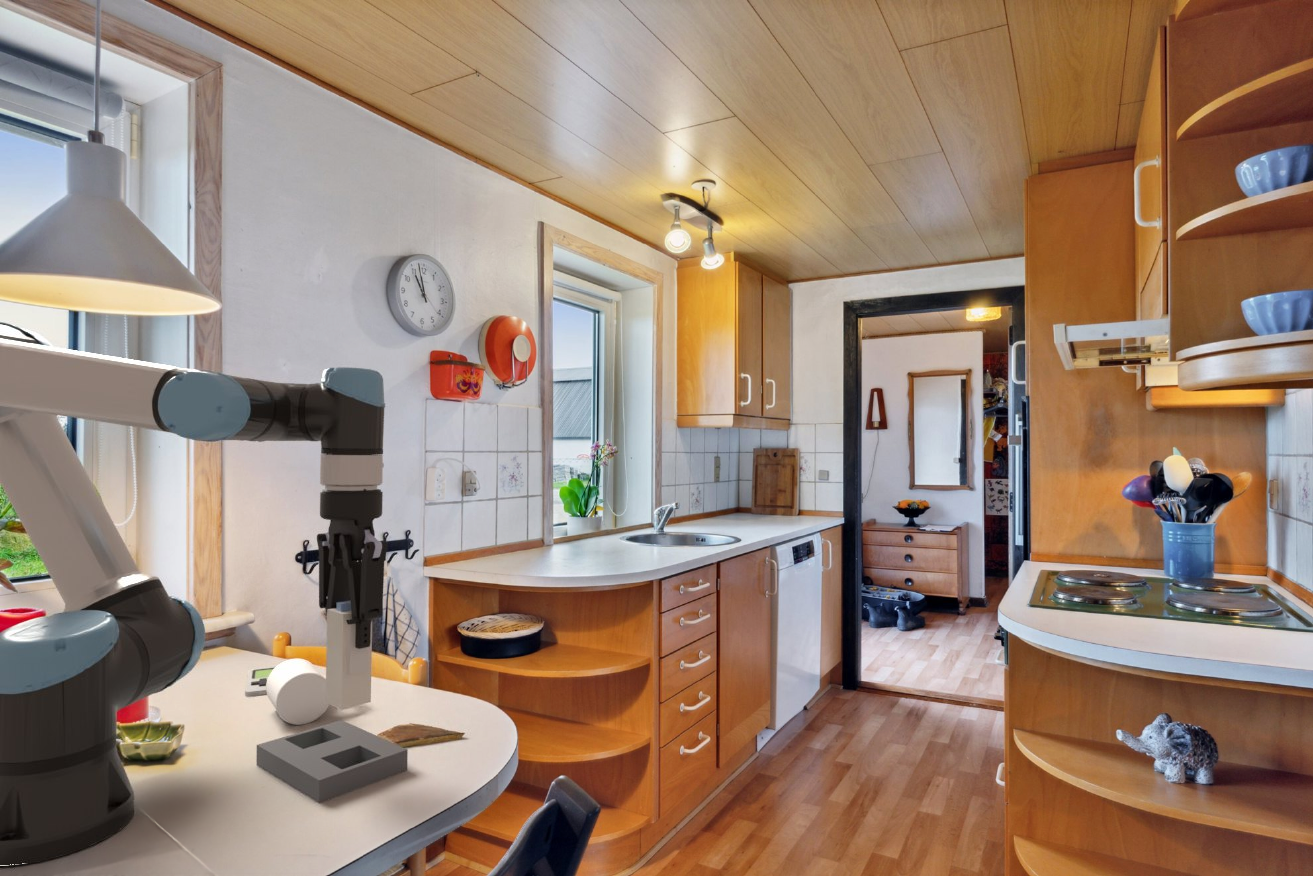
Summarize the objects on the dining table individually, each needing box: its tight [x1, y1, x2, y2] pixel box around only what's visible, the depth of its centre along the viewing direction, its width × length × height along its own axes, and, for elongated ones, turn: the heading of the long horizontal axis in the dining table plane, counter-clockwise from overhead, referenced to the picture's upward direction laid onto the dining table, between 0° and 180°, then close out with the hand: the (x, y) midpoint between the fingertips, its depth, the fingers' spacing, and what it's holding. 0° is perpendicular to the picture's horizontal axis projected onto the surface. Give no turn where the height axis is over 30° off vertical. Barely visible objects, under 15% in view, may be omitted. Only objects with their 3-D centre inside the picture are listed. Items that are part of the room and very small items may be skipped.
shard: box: [376, 722, 466, 748], centre depth 111 cm, size 11×8×2 cm
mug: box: [266, 658, 330, 726], centre depth 124 cm, size 12×10×8 cm
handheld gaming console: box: [244, 665, 277, 698], centre depth 140 cm, size 10×2×15 cm
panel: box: [256, 719, 408, 804], centre depth 102 cm, size 12×17×3 cm
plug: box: [325, 600, 373, 711], centre depth 99 cm, size 4×4×13 cm
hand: (348, 668), depth 99 cm, fingers closed on plug, 4 cm apart
